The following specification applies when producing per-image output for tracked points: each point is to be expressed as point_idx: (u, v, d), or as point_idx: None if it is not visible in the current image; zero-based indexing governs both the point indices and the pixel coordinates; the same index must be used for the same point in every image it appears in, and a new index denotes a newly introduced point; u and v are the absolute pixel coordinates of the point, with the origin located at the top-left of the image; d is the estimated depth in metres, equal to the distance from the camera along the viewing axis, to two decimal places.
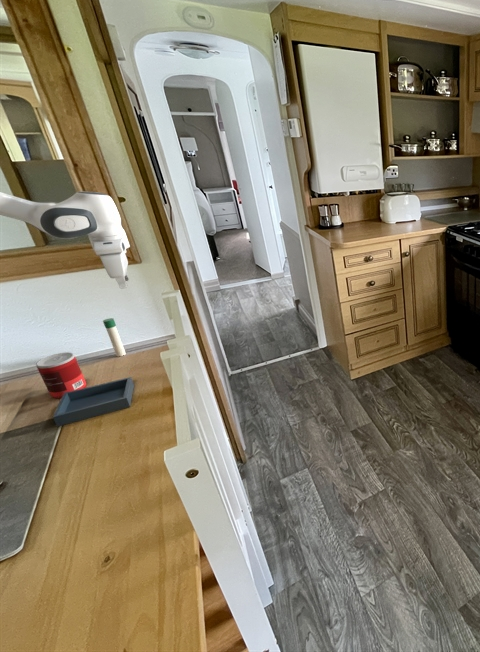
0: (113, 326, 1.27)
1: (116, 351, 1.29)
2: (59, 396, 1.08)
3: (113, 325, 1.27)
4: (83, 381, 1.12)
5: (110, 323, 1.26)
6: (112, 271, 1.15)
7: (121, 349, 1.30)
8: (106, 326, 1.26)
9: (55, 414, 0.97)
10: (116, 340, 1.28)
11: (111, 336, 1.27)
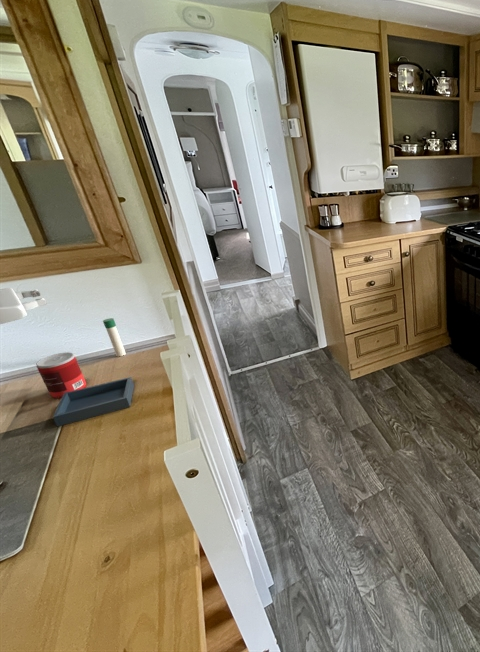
0: (113, 326, 1.27)
1: (116, 351, 1.29)
2: (59, 396, 1.08)
3: (113, 325, 1.27)
4: (83, 381, 1.12)
5: (110, 323, 1.26)
6: (14, 315, 1.04)
7: (121, 349, 1.30)
8: (106, 326, 1.26)
9: (55, 414, 0.97)
10: (116, 340, 1.28)
11: (111, 336, 1.27)
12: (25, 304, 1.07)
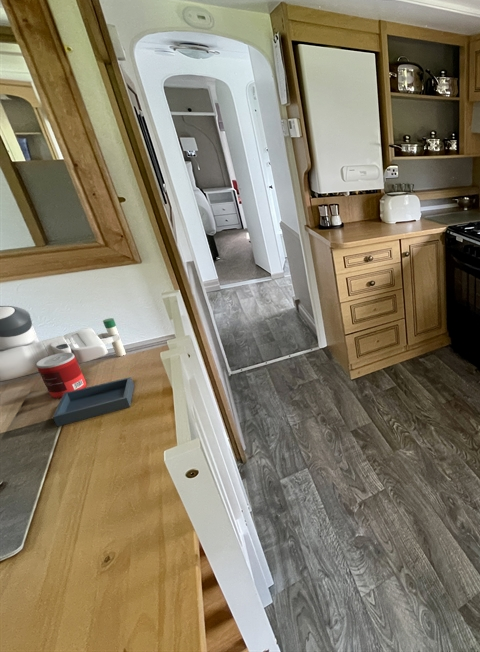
0: (113, 326, 1.27)
1: (116, 351, 1.29)
2: (59, 396, 1.08)
3: (113, 325, 1.27)
4: (83, 381, 1.12)
5: (110, 323, 1.26)
6: (98, 353, 1.19)
7: (121, 349, 1.30)
8: (106, 326, 1.26)
9: (55, 414, 0.97)
10: None
11: None
12: (103, 340, 1.24)
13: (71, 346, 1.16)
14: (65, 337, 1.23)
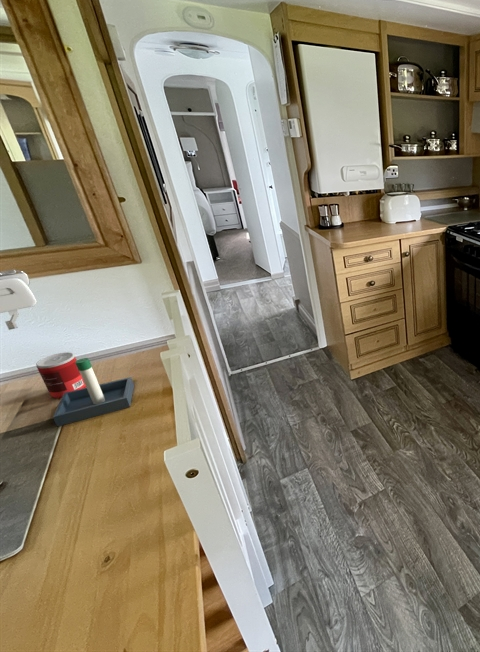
0: (88, 368, 1.02)
1: (92, 398, 1.04)
2: (59, 396, 1.08)
3: (88, 366, 1.02)
4: (83, 381, 1.12)
5: (84, 365, 1.01)
6: None
7: (99, 395, 1.05)
8: (79, 369, 1.01)
9: (55, 414, 0.97)
10: (92, 385, 1.03)
11: (86, 380, 1.02)
12: None
13: None
14: (0, 283, 0.86)
